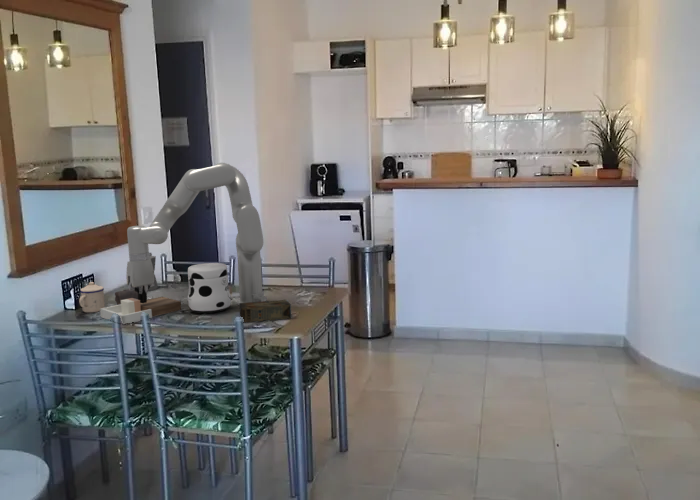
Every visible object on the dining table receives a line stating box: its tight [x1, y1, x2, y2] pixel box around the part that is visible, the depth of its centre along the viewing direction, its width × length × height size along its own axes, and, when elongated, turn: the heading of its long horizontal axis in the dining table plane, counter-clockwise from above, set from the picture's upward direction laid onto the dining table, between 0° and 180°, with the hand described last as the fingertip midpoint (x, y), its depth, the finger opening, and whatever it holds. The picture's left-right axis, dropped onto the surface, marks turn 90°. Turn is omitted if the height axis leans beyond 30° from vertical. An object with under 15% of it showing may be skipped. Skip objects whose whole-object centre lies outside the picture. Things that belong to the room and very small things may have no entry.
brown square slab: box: [140, 296, 182, 318], centre depth 266 cm, size 14×14×4 cm
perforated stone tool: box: [114, 288, 138, 305], centre depth 278 cm, size 15×5×7 cm, turn 156°
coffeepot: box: [141, 255, 159, 292], centre depth 307 cm, size 15×9×18 cm, turn 32°
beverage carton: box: [239, 299, 292, 324], centre depth 250 cm, size 8×19×7 cm, turn 104°
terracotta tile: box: [128, 298, 141, 312], centre depth 259 cm, size 6×6×2 cm
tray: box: [99, 304, 153, 324], centre depth 257 cm, size 18×12×4 cm, turn 47°
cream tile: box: [121, 299, 135, 315], centre depth 257 cm, size 6×6×2 cm
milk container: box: [186, 262, 232, 314], centre depth 264 cm, size 17×17×18 cm
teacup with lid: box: [78, 281, 106, 313], centre depth 268 cm, size 12×9×12 cm
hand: (142, 302), depth 262 cm, fingers closed
